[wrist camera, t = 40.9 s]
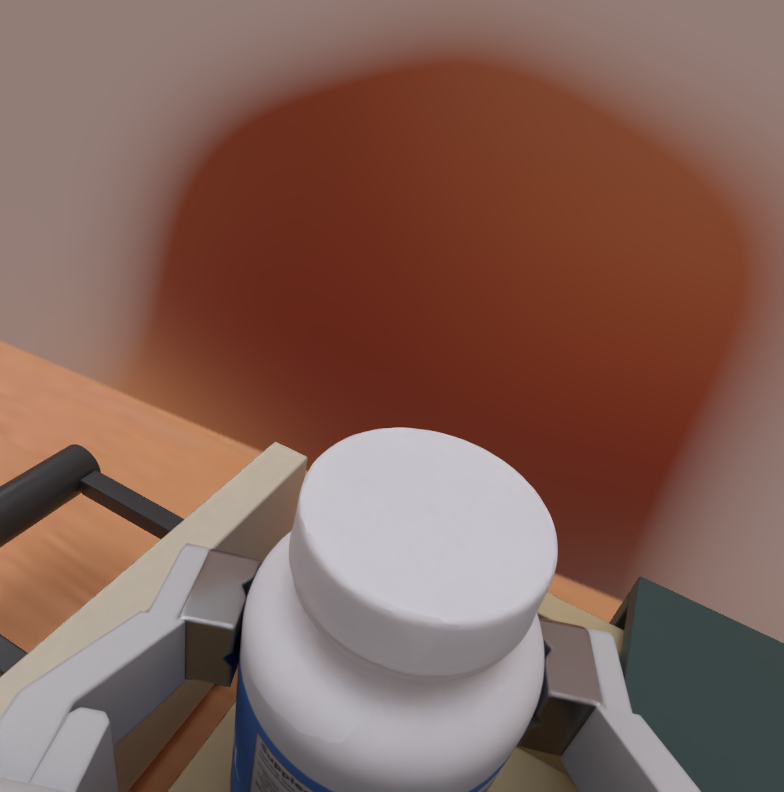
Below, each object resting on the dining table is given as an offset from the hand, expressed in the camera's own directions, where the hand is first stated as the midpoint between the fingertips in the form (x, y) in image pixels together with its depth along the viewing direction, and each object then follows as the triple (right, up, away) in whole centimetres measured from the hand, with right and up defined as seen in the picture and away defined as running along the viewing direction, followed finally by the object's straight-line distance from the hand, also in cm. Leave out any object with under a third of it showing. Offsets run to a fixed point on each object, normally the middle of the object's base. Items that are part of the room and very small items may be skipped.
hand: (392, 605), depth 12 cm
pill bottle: (-1, -5, +3) cm, 6 cm away
